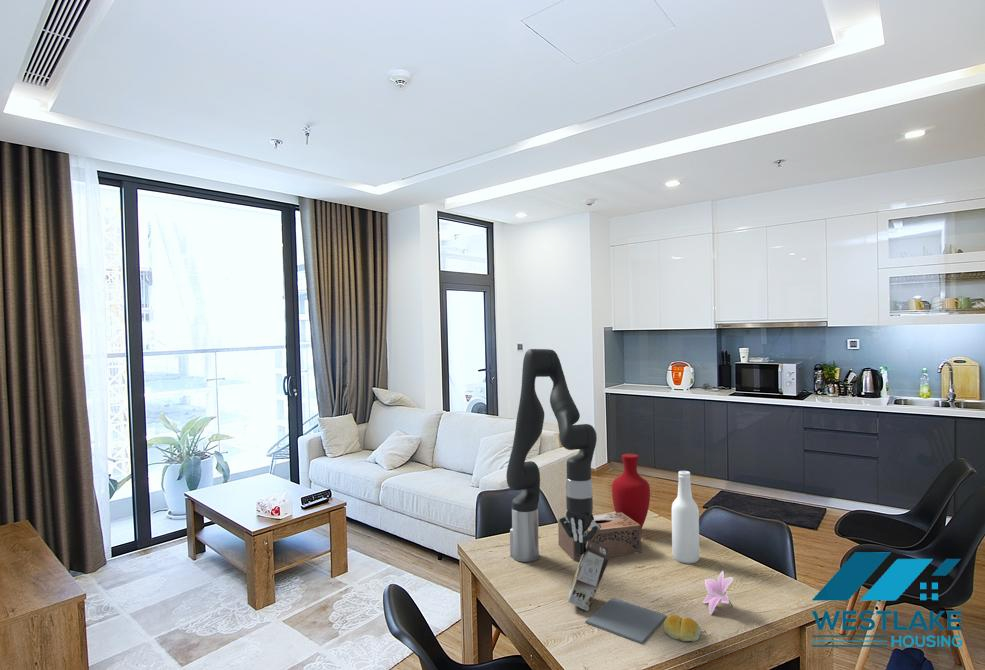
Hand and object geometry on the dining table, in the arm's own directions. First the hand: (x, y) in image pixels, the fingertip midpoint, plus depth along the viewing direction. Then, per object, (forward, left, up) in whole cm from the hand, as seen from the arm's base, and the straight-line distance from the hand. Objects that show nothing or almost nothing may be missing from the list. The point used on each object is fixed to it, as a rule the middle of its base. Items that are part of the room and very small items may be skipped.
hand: (580, 553), depth 153 cm
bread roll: (+28, +3, -15) cm, 32 cm away
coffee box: (-1, 0, -14) cm, 14 cm away
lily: (+31, +22, -15) cm, 41 cm away
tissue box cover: (-15, +39, -15) cm, 45 cm away
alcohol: (+13, +49, -15) cm, 53 cm away
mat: (+14, 0, -15) cm, 20 cm away
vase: (-13, +62, -15) cm, 65 cm away
